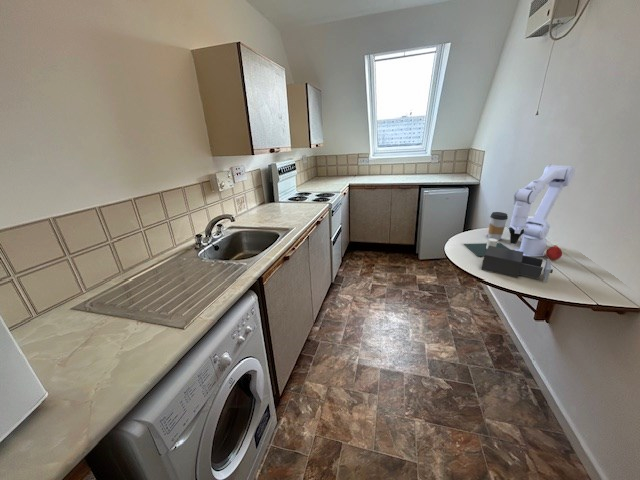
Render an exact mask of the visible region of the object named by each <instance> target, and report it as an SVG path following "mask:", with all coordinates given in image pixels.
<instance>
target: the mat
mask: <svg viewBox="0 0 640 480" xmlns="http://www.w3.org/2000/svg"><path fill="white" fill-rule="evenodd" d="M463 246H465V247H466V248H467V249H468V250H470V251H471V252H472V253H473V254H474V255H475V256H477V257H478V258H484V255H485V253H486V251H487V248H486V246H487V242H486V243H485V242H484V243H463ZM496 247H500V248H505V249H510V248H509V247H507V246H506V245H504V244H502V243H501V242H497V246H496Z"/></svg>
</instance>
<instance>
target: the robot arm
mask: <svg viewBox="0 0 640 480" xmlns="http://www.w3.org/2000/svg"><path fill="white" fill-rule="evenodd" d="M575 172H576V167H575V166H574V165H559V164H557V165H556V164H548V165H547V166H545V168H544V170H543V174H542V175H541V176H540V177H539V178H538V179H533V180H531V182H529V183H528V184H527V185H526V186H525V187H523V188H519V189H517V190H516V191H515V193H514V195H513V205H514V206H513V211H512V213H511V219H510V223H509V224H508V226H509V227H508V231H509V234H510V235H509V236H510V237H509V244H512V245H516V244H517V243H518V242H519V241H518V239H519V237H520V236H521V235H522V236H523V239H522V242H520V247H519V248H517V249H516V248H515V249H514V250H516V251H521V252H523V255H524V256H530V257H545V254H544V253H545V251H546V247H547V240H546V238H547V236H548V234H549V230H550V229H551V224H550V223H549V222H548V221H547V218H548V217H549V215H550V213H551V211H552V209H553V207H554V206H555V203H556V202H557V200H558V198H559V196H560V194H561V192H562V190H563V189H564V188H565V187H569V184H570V183H571V182H572V180H573V178H574V176H575ZM546 185H547V186H548V189H547V190H546V192H545V194H544V195H543V198H542V199H541V202H540V204H539V205H538V208H537V209H536V211H535V213H534V216H532V218H529V219H527V218H528V216H529V213H530V211H531V206H532V204H533V203H534V202H535V201H536V199H537V197H538V195H539V194H540V193H541V192H543V191H544V190H545V189H546ZM535 224H537V225H535ZM539 225H540V226H539Z"/></svg>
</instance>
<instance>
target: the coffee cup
mask: <svg viewBox="0 0 640 480" xmlns="http://www.w3.org/2000/svg"><path fill="white" fill-rule="evenodd" d="M489 217H490V218H489V223H488V230H487V232H488V234H487V239H489V238H493V239H496V240H498V241H500V240H501V239H502V235H503V234H504V230H505V227H506V223H507V221H508V218H509V216H508V213H506V212H502V211H493V212H491V213H490V216H489Z"/></svg>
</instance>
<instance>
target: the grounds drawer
mask: <svg viewBox="0 0 640 480" xmlns="http://www.w3.org/2000/svg"><path fill="white" fill-rule="evenodd" d="M543 262H544V259H543V258H540V257H536V256H534V257H530V256H524V255H523V258H522V263H521V267H520V270H519V274H518V276H524V277H528V278H532V279H537V280H540V278H541V276H543V277H542V282H544V283H548V280H549V277H550V275H551V274H553V272H554V269H552V260H550V259H549V258H547V259H546V261H545V264H544V267H543V266H542V264H543ZM542 273H543V275H542Z"/></svg>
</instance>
